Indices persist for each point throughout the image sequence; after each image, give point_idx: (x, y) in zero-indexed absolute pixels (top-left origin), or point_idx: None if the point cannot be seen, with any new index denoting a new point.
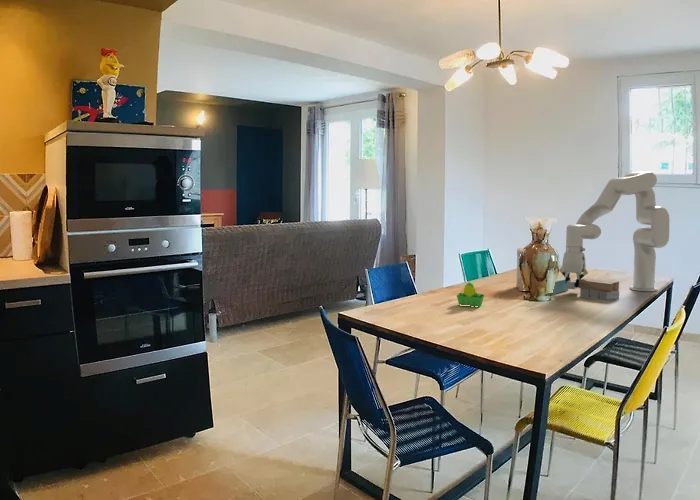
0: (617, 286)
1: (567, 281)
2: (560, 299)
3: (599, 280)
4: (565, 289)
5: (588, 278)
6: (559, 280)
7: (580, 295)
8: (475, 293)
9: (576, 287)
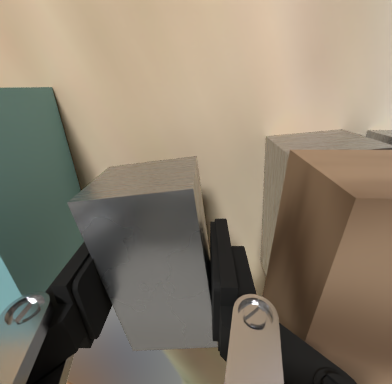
0: None
1: (132, 335)
2: (209, 355)
3: None
4: (59, 142)
5: (380, 250)
6: (10, 297)
7: (264, 266)
8: None
9: (208, 248)
